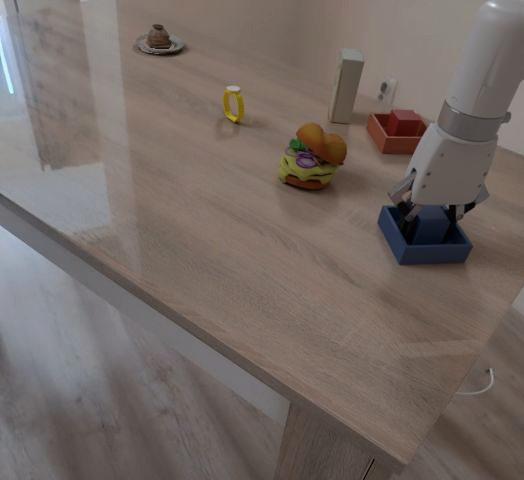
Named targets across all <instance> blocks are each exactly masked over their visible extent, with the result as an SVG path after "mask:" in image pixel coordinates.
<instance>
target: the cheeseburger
mask: <svg viewBox="0 0 524 480" xmlns="http://www.w3.org/2000/svg"><path fill="white" fill-rule="evenodd" d="M295 136H296V138H292V139H291V140H289V142H288V145H289V146H287V147H285V149H284V151H283V154H282V155H281V157H280V159H279V167H278V170H277V175H278V178H279V179H280V181H281V182H282V183H283V184H286V183H288V184H289V185H294V186H296V187H300V188H304V189H308V190H309V189H310V190H319V189H324V188H325V187H327V186H328V185H329V184H330V183H331V181H332V179H333V178H334V176H335V175H336V172H337V171H338V169H339V167H342V166H344V165H345V163H344V162H345V160H346V157H347V155H348V145H347V143H346V141H345V139H344V138H343V137H342V136H341V135H340V134H337V133H328V132H326V131H324V128H323V127H322V126H321V125H320V124H318V123H316V122H313V121H311V122H306V123H305V124H302V125H301V126H300V127H299V128H298V129H297V130H296V132H295Z"/></svg>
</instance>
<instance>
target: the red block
mask: <svg viewBox="0 0 524 480" xmlns="http://www.w3.org/2000/svg"><path fill="white" fill-rule="evenodd" d="M390 113H391V114H390V117H389V121H388V124H387V128H386V131H385V132H386V134H387V135H388V136H395V137H415V136H416V133H417V130H418V127H419V124H420V121H421V120H420V119H419V117H418V116H417V115H416V114H417V113H416V112H415V110H414V109H391V110H390Z"/></svg>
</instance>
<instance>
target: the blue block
mask: <svg viewBox="0 0 524 480" xmlns="http://www.w3.org/2000/svg"><path fill="white" fill-rule="evenodd" d="M413 205H414V204H413ZM413 205H412V206H413ZM412 206H411V207H412ZM410 209H411V208H410ZM414 220H415V226H414V229H413V231H412V234H411V236H410V239H409V243H410V245H441V242H442V240H443V238H444V236H445V234H446V231H447V229H448V227H449V225H450V221H449V219H448V218H447V216H446V215H445V213H444V212H443V210H442V209H441V207H440V206H439V205H424V206H423V207H422V209H421V210H420V211H419V212H418V214H417V215H416V216H415V218H414Z"/></svg>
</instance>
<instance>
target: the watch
mask: <svg viewBox="0 0 524 480" xmlns="http://www.w3.org/2000/svg"><path fill="white" fill-rule="evenodd" d="M230 95H233V96H234V99H235V102H236V105H237V108H236V109H237V113H236V116H234V115H233V112H232V110H231V105H230ZM222 108H223V112H224V114H225V117H226V118H227V119H229V120H230V121H232V122H233V123H238V122H241V121H242V120H243V118H244V114H245V103H244V99H243V96H242V94H241V87H240V86H237V85H228V86H226V87H225V90H224V92H223V95H222Z"/></svg>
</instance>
